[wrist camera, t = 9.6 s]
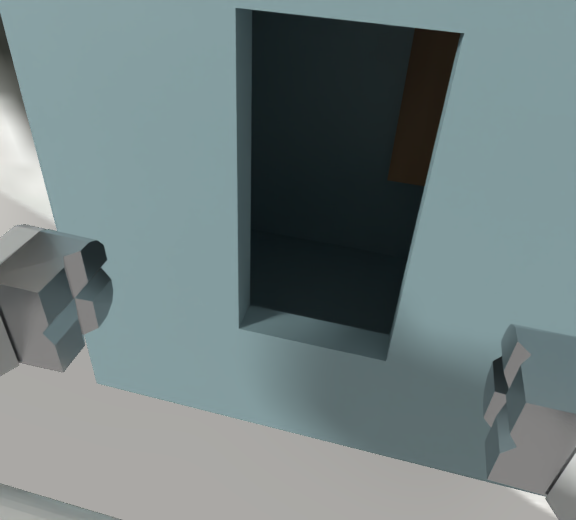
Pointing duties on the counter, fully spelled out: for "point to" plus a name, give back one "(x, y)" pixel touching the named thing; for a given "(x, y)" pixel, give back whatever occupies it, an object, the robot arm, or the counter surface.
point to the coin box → (310, 204)
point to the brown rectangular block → (422, 104)
